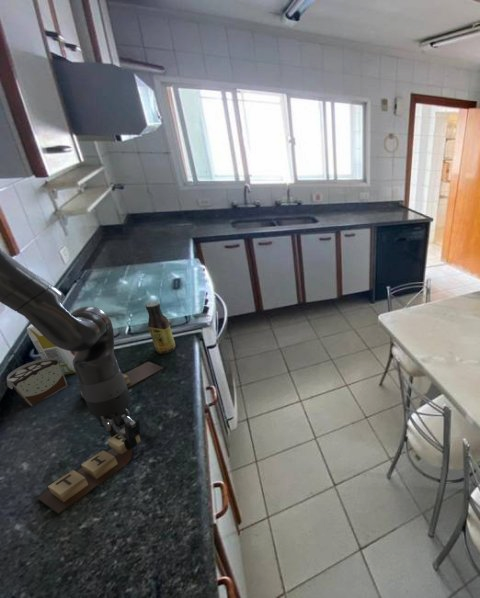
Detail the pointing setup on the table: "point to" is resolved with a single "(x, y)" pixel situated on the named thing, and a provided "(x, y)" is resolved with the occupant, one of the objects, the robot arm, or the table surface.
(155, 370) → the right word rack
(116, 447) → the s tile
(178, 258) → the table surface
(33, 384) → the food container
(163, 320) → the sauce bottle
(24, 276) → the robot arm
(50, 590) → the table surface
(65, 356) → the juice carton
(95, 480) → the left word rack
